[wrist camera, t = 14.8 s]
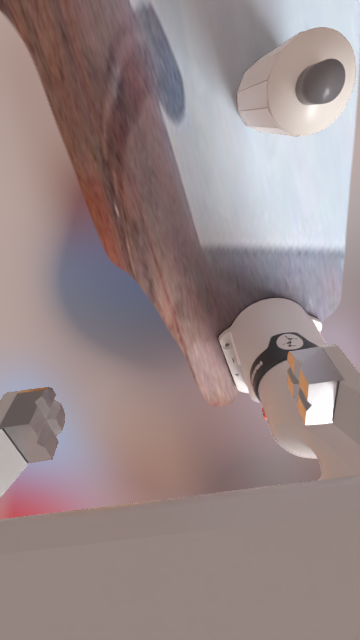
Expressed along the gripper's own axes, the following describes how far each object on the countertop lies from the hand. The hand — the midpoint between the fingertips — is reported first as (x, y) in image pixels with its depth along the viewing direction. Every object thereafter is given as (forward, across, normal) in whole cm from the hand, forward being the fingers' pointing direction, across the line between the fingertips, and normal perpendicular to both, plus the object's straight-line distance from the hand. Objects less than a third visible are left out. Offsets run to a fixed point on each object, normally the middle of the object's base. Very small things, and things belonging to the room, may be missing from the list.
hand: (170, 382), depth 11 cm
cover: (+39, -14, -8) cm, 42 cm away
